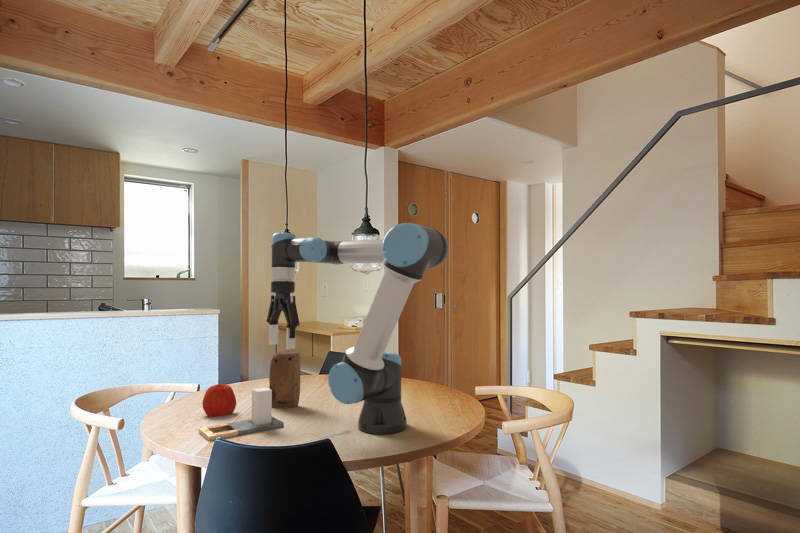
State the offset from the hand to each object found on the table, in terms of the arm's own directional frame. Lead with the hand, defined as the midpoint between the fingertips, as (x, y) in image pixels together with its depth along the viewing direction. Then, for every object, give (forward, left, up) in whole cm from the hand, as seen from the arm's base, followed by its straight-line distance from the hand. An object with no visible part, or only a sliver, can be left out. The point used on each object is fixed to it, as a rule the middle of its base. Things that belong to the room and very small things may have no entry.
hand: (281, 346), depth 151 cm
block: (+18, -9, -24) cm, 32 cm away
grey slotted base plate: (-2, +13, -24) cm, 28 cm away
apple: (+22, +12, -25) cm, 35 cm away
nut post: (-2, +7, -23) cm, 25 cm away
